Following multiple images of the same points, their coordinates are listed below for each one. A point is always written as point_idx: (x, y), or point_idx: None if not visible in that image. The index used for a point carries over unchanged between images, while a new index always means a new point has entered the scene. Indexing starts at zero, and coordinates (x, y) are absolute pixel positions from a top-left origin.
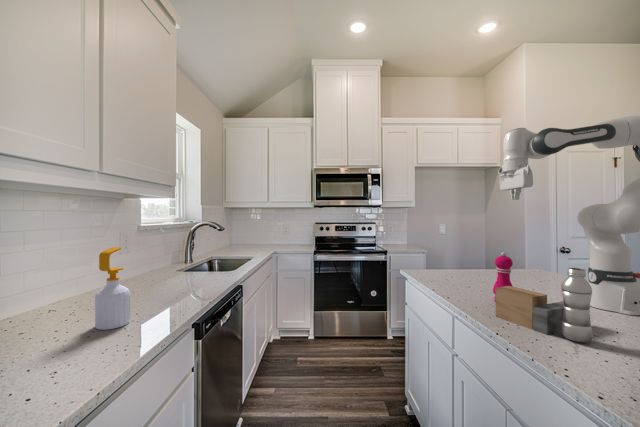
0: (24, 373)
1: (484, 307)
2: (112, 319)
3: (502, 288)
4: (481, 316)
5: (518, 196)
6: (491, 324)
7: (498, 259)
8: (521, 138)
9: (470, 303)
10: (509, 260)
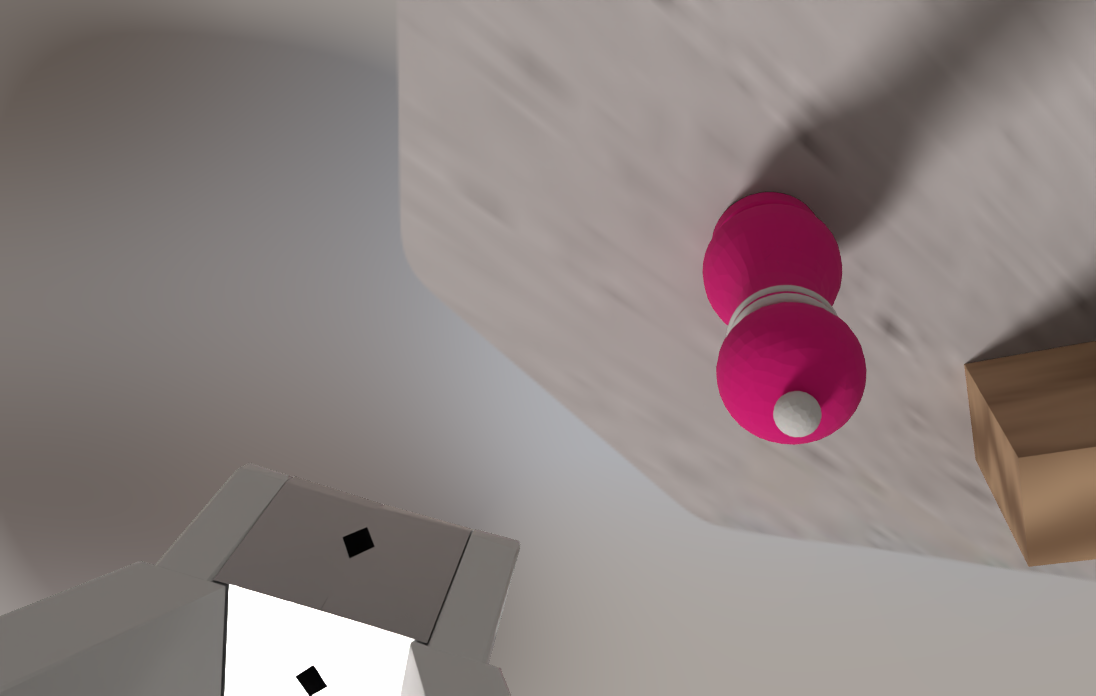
0: None
1: None
2: None
3: (1060, 544)
4: (952, 519)
5: (491, 649)
6: None
7: (799, 443)
8: None
9: (746, 442)
10: (862, 383)
